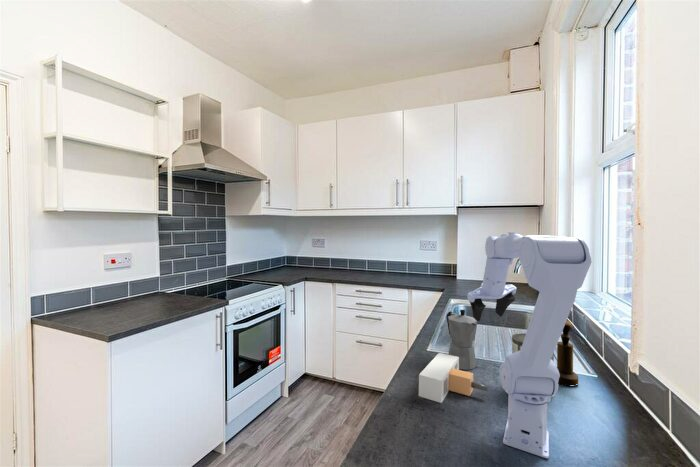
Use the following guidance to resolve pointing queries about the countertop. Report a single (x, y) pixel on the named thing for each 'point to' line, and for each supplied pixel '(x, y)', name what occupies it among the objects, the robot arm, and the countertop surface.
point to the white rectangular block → (437, 377)
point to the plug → (463, 382)
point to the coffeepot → (462, 338)
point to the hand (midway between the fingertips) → (487, 316)
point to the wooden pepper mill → (566, 358)
